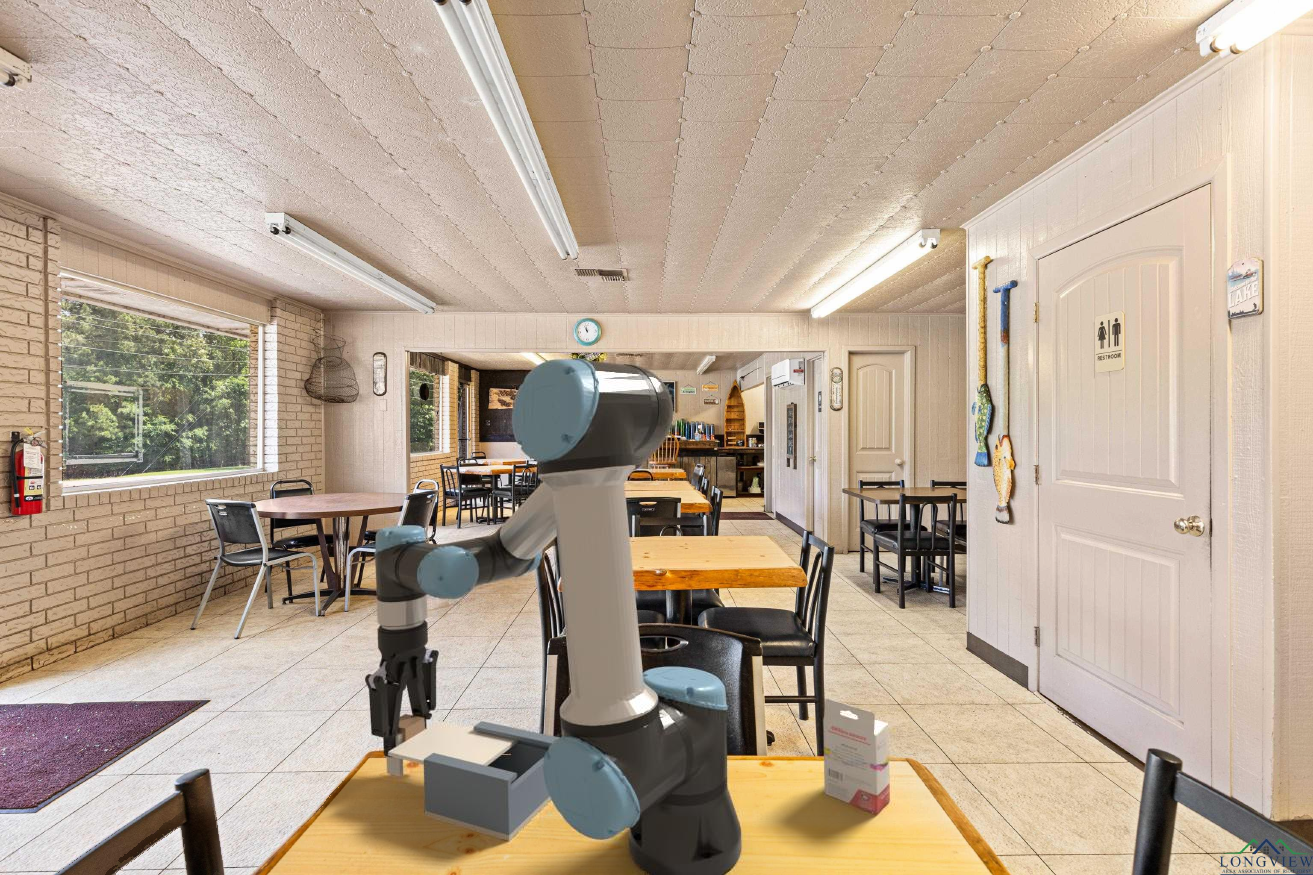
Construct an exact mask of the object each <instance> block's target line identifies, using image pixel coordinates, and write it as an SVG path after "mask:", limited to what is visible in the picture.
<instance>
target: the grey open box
mask: <svg viewBox="0 0 1313 875" xmlns="http://www.w3.org/2000/svg"><path fill="white" fill-rule="evenodd" d="M473 728H474V730H476V731H480V732H485V733H489V734H494V735H498V736H503V737H508V738H512V739H517V740H518V743H516V744H515V745H514V746H512V747H511V748H510V749H508V750H507V751H506V752H504V753H503V754H511V755H501V756H499V757H498V758H497V759H495V760H494V761H493V762H491V763H490V764H489V765H487V766H485V765H481V764H477V763H473V762H469V761H465V760H461V759H457V758H453V757H449V756H445V755H440V754H436V753H432V754H431V755H429V756H428V757H426V758H425V759H424V765H423V783H424V784H423V787H424V788H423V789H424V790H423V791H424V792H423V793H424V795H423V796H424V817H426V818H430V819H434V820H437V821H439V822H444V823H447V824H450V825H453V826H457V827H459V828H464V829H467V830H470V831H474V832H477V833H480V834H483V835H486V836H491V837H494V838H497V839H500V840H503V841H507V842H510V841H511V840H512V839H513V838H514V837H516V836H517V835H518V834H519V832H520V831H521V830H522V829H524V828H525V827H526V826H527V825H528V823H530V822H531V821H532V819H534V817H536V816H537V814H539V813H540V812H541V811H542V810H543V809H544V808H545V807H547V805H549V803H550V802H552V800H551V798H550V795H549V793H548V790H547V787H546V783H545V779H544V772H543V763H544V757H545V754H546V752H547V751H548V749H549V747H550V746H551V745H552V743H553V742H554V740H556V739H559V738H560V736H554V735H550V734H544V733H540V732H535V731H531V730H526V729H521V728H516V727H512V726H506V725H501V724H497V723H493V722H488V721H483V720H482V721H480V722H478V723H477V724H475V725H474V726H473Z"/></svg>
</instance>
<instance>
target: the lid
mask: <svg viewBox="0 0 1313 875" xmlns="http://www.w3.org/2000/svg"><path fill="white" fill-rule="evenodd" d="M398 733H402V742H403V743H402V744H400V745H399V746H397V747H395V748H394V749H392V750H390V751H389V752H388V756H392V757H395V758H399V759H403V761H407V762H410V763H411V762H413V763H414V764H415V763H416V764H420V765H423V766H424V759H425V758H426V757H428V756H429V755H431V754H432V753H436V754H440V755H445V756H449V757H453V758H457V759H461V760H465V761H469V762H473V763H477V764H481V765H485V766H487V765H489V764H490V763H491V762H493V761H494V760H495V759H497V758H498V757H499V756H501V755H502V754H503V753H504V752H506V751H507V750H508V749H510V748H511V747H512V746H514V745H515V744H516V743H518V740H517V739H512V738H508V737H503V736H498V735H494V734H489V733H485V732H480V731H476V730H474V727H470V726H464V725H460V724H456V723H451V722H447V721H442V720H438V721H437V722H435V723H434V724H432V725H431V726H428V727H427V729H425V730H424V718H422V717H418V716H413V715H412V714H407V713H405V714H402V715H400V720H399V728H398Z"/></svg>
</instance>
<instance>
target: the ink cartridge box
mask: <svg viewBox="0 0 1313 875" xmlns="http://www.w3.org/2000/svg"><path fill="white" fill-rule="evenodd" d="M822 722H823V723H822V724H823V764H824V766H823V767H824V768H823V770H824V772H823V773H824V774H823V776H824V777H823V778H824V780H823V782H824V786H823V787H824V793H825V795H828V796H830V797H833V798H835V799H837V800H840V801H843V802H845V803H847V804H850V805H851V806H854V807H856V808H857V807H858V808H860V809H861V810H864V811H867V812H870V813H872V814H874V815H878V814H879V813H880V812H881V811H882V810H883V809H884V808H885V807H886V805H888V803H889V802H890V801H891V790H890V788H891V784H890V774H891V773H890V745H889V744H890V742H889V741H890V738H889V737H890V736H889V723H888V722H884V721H881V720H878V719H877V720H876V714H875V713H874V712H873V711H871V710H867V709H863V708H860V707H857V706H854V705H851V704H847V703H844V702H840V701H838V700H834V699H830V698H828V697H827V698H825V699H824V716H823V720H822Z"/></svg>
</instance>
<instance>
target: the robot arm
mask: <svg viewBox="0 0 1313 875" xmlns="http://www.w3.org/2000/svg"><path fill="white" fill-rule="evenodd" d="M671 397H672V396H671V394H670V391H669V390H668V388H667V386H666V384H665V383H664V382H663V381H662V379H661V378H659V376H657V375H656V374H655V373H654V372H652V371H650V370H649V369H647V368H645V367H642V366H638V365H635V364H625V363H624V364H619V363H612V362H611V363H610V362H605V361H595V360H590V359H589V360H588V359H583V358H581V357H580V358H578V357H577V358H567V359H566V358H563V359H562V358H559V359H557V358H556V359H549V360H546V361H543V362H542V363H539V364H537V365H536V366H534V368H533V369H531V370H530V371H529V373H527V375H526V376H525V377H524V379H523V383H522V384H520V385H519V388H518V389H517V392H516V395H515V397H514V402H513V404H512V405H513V406H512V412H511V413H512V415H511V425H512V426H511V427H512V432H513V436H514V438H515V441H516V443H517V445H519V446H521V447H520V450H521V451H522V452H523V453H524V455H526V456H527V457H529V458H531V459H533V460H534V461H536V464H537V465H536V466H537V475H538V478H539V479H540V480H541V481H542V482H541V483H540V485H538V487H537V488H535V490H534V491H533V492H532V493H531V494H530V495H529V497H527V499H526V500H525V501H524V502H523V503H522V504H521V505H520V506H519V507H518V508H517V509H516V510H515V511H514V512H513V514H512V515H511V516H509V518H508V519H507V520H506V521H505V522H504V523H503V524H502V525H501V526H500V527H499V528H498V529H497V530H496V531H495V532H494V533H492V534H490V535H486V536H479V537H474V538H470V539H464V540H457V541H453V542H452V541H451V542H447V543H439V544H438V543H437V544H435V543H429V542H427V537H426V531H425V530H424V528H423V526H421V525H414V524H413V525H406V524H405V525H395V526H387V527H384V528H381V529H380V530H378V531H377V532H376V534H375V551H374V560H375V561H374V563H375V586H376V588H375V589H376V590H375V591H376V613H377V614H376V615H377V618H376V620H377V623H378V625H379V627H378V628H377V629H376V630H377V649H378V651H379V653H380V655H381V659H380V662H379V668H378V669H377V670H376V671H375V672H374V673H373V674H372V673H367V674H366V676H365V678H364V681H365V684H366V687H367V688H368V697H369V698H368V699H369V716H370V717H369V718H370V732H371V735H372V736H375V737H379V738H382V739H383V741H382V742H383V743H382V744H383V756H385V757H386V774H388V775H392V776H396V777H399V778H400V777H402V776H404V760H403V759H399V758H395V757H392V756H388V752H389V751H390V750H392V749H394V748H395V747H397V746H399V745H400V744H402V743H403V742H402V733H398V728H399V720H400V717H401V709H402V703H403V702H402V701H403V696H404V695H403V694H404V691H405V690H406V689H407V695H408V701H409V705H410V712H411V715H413V716H418V717H422V718H424V730H425V729H427V728H428V727H427V724H428V723H427V720H429V721H430V720H431V719H432V717H433V713H431V712H433V711H435V710H436V708H437V663H438V658H439V655H440V653H439V650H436V649H431V648H427V647H426V646H427V644H428V642H429V633H428V631H429V629H428V626H429V625H428V622H427V621H426V620H427V618H428V595H429V596H430V597H432V598H434V599H435V598H438V599H439V600H446V599H447V600H458V599H460V598H463V597H464V596H466V595H467V594H468V593H469V592H471V591H472V590H473V588H475V587H478V586H482V585H485V584H490V583H495V582H499V581H504V580H508V579H512V578H519V577H521V576H524V575H525V574H527V573H531V572H533V571H535V570H536V569H537V568H538V567H539V566H540V564H541V563H540V562H541V559H542V558H543V550H544V549H545V548H546V547H547V546H548V545H549V544H550V543H551V542H552V541H553V540H555V538H556V539H557V540H556V541H557V551H558V552H557V553H558V561H559V562H558V563H559V573H560V584H561V596H562V604H563V606H562V607H563V614H564V626H565V628H564V629H565V637H566V647H567V648H566V649H567V658H568V670H569V672H568V673H569V681H570V682H569V683H570V691H571V692H570V694H568V696H567V698H566V699H565V700H564V701H563V702H562V704H561V706H560V707H559V716H560V717H559V718H560V727H561V737H559V739H556V740H554V742H553V743H552V745H551V746H550V747H549V749H548V751H547V752H546V754H545V757H544V763H543V772H544V779H545V783H546V787H547V790H548V793H549V795H550V798H551V802H552V804H553V805H554V807H555V808H556V811H557V812H559V814H560V815H561V817H563V819H564V820H565V822H566V823H567V824H568V825H569V826H570V827H571V828H573V829H574V830H575V831H576V832H577V833H579V834H581V835H582V836H585V837H587V838H588V839H592V840H598V841H602V840H603V841H604V840H605V841H606V840H609V839H612V838H614V837H617V836H618V835H619V834H620V833H622V832H623V831H625V830H626V829H628V849H629V853H630V856H631V859H632V860H633V862H635V864H636V865H637V866H638V867H639V868H640V869H641V870H643V871H644V872H645V873H647V874H648V875H723V874H726V873H727V872H729V870H730V869H732V868H733V867H734V866H735V865H736V863H737V862H738V861H739V858H741V857H740V856H741V855H742V854H741V853H742V846H743V845H742V841H743V840H742V827H741V823H740V820H739V817H738V815H737V811H736V808H735V805H734V802H733V800H732V797H731V795H730V794H731V793H730V792H729V788H728V786H729V785H728V722H727V721H728V720H727V719H728V715H727V714H728V710H729V708H728V706H729V705H727V697H726V696H727V695H726V693H727V692H726V687H725V685H724V683H723V681H721V680H720V678H719V677H718V676H716V675H714V674H712V673H710V672H708V671H704V670H701V669H697V668H692V667H683V666H662V667H661V666H660V667H654V668H649V669H648V670H645V671H644V672H643V663H642V661H643V660H642V653H641V642H640V632H639V621H638V620H639V619H638V611H637V600H636V591H635V580H634V578H635V577H634V570H633V568H634V567H633V561H632V560H633V558H632V550H631V549H632V548H631V537H630V529H629V519H628V518H629V517H628V507H627V498H626V497H627V496H626V488H625V487H626V486H625V483H626V480H627V479H628V477H630V476H631V474H632V473H633V472H635V471H637V470H638V469H639V468H640V467H642V465H643V464H644V463H645V462H646V461H648V460H649V459H650V458H651V457H652V456H653V455H654V453H656V452H657V451H658V449H660V447H661V446H662V444H664V441H665V440H666V438H667V437H668V435H669V433H670V431H671V427H672V424H673V421H674V419H673V418H674V405H673V401H672V398H671Z"/></svg>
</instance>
